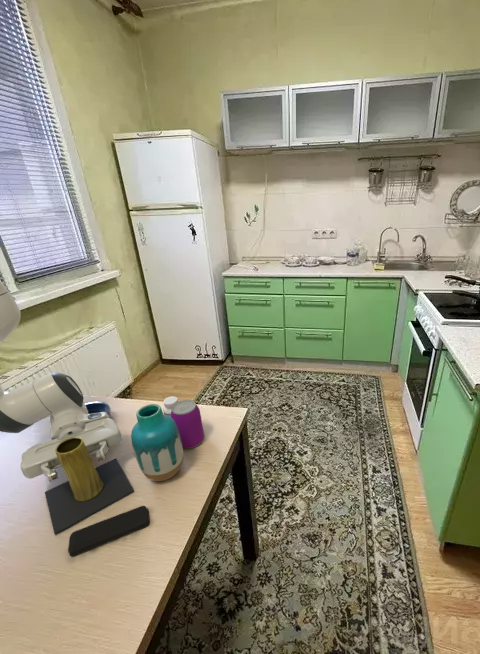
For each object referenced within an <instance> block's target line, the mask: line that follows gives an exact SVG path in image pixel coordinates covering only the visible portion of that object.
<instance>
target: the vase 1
mask: <svg viewBox="0 0 480 654" xmlns="http://www.w3.org/2000/svg"><path fill="white" fill-rule="evenodd" d="M55 452H56V455H57V457H58V459H59V461H60V463H61V465H62V467H61V468H62V469H63V471H64V474H65V476H66V478H67V481H69V483H70V486H71V489H72V491H73V494H74V498H75V499H76V500H78V501H87V500H90V499H92V498H94V497H95V496H97V495H98V494H99V493H100V492H101V490H102V489H103V482H102V480H101V479H100V476H99V474H98V472H97V470H96V466H95V464H94V462H93V460H92V458H91V455H89V453H88V451H87V448H86V446H85V444H84V441H83V439H82V438H80V437H72V438H68V439H66V440H64V441H62V442H61V443H59V444H58V446H57V447H56V449H55Z"/></svg>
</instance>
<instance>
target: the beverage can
mask: <svg viewBox="0 0 480 654" xmlns="http://www.w3.org/2000/svg"><path fill="white" fill-rule="evenodd" d="M170 416H171V418H172V419H173V420H174V421H175V423H176V425H177V427H178V430H179V434H180V438H181V442H182V447H183V449H193V448H196V447H198V446H199V445H200V444H201V443H202V442H203V441H204V439H205V431H204V426H203V421H202V415H201V410H200V408H199V406H198V405H197V404H196V402H195V401H194V400H192V399H182V400H178V402H177V403H175V404H174V405H173V406H172V410H171V415H170Z"/></svg>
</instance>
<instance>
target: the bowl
mask: <svg viewBox="0 0 480 654" xmlns="http://www.w3.org/2000/svg"><path fill="white" fill-rule="evenodd" d="M85 405H86V407H87V410H88V413H89V414H93V413H100V412H106V413H107V415H108V417H109V418H110V419H112V420H114V421H115V418H114V415H113V412H112V408H111V406H110V405H109V403H106V402H105V401H104V402H103V401H91V402H87V403H85Z"/></svg>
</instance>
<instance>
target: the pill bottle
mask: <svg viewBox="0 0 480 654" xmlns="http://www.w3.org/2000/svg"><path fill="white" fill-rule="evenodd" d="M177 402H179V398H178V397H177V396H167V397H165V398H164V400H163V406H164V407H162V412H163V414H165V415H168V416H170V415H171V410H172V406H173V405H174V404H175V403H177ZM170 417H171V416H170Z"/></svg>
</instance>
